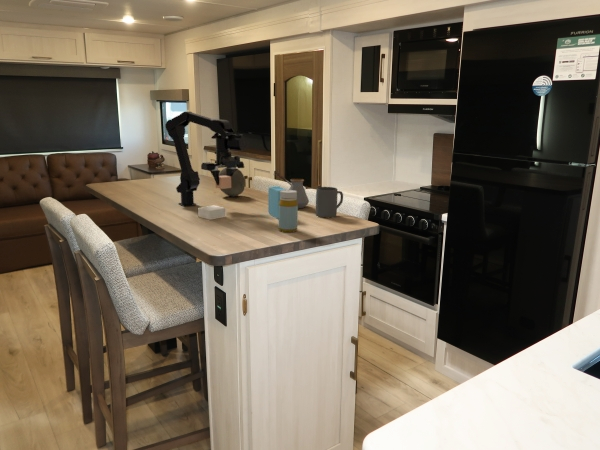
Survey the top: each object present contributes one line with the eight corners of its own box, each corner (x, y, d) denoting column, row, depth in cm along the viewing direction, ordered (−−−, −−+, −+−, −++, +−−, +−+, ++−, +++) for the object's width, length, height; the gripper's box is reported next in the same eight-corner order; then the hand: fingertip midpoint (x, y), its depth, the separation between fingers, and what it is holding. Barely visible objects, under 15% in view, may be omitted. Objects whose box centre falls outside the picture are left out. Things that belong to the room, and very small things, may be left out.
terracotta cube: (215, 187, 211) (215, 176, 209) (225, 186, 214) (225, 175, 212) (221, 188, 207) (221, 177, 206) (231, 187, 210) (231, 176, 209)
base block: (198, 217, 198) (198, 207, 197) (213, 214, 203) (213, 205, 202) (209, 220, 192) (209, 210, 191) (225, 217, 198) (225, 208, 197)
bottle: (278, 228, 181) (278, 189, 178) (296, 228, 182) (297, 189, 178) (279, 232, 174) (279, 192, 171) (297, 232, 175) (298, 192, 172)
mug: (324, 219, 198) (325, 190, 195) (311, 215, 205) (312, 187, 202) (348, 215, 205) (350, 188, 203) (335, 211, 213) (336, 185, 210)
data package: (288, 218, 197) (288, 190, 194) (278, 219, 195) (278, 190, 192) (277, 212, 208) (278, 185, 205) (268, 213, 206) (268, 186, 203)
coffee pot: (313, 207, 221) (314, 175, 218) (296, 210, 213) (297, 177, 210) (283, 200, 236) (283, 170, 232) (265, 203, 228) (265, 172, 224)
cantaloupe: (242, 193, 252) (241, 165, 248) (247, 198, 239) (247, 168, 235) (215, 194, 248) (214, 166, 244) (219, 199, 235) (219, 169, 231)
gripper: (212, 151, 194) (213, 189, 198) (250, 150, 206) (250, 185, 210) (200, 149, 203) (201, 185, 206) (237, 148, 214) (237, 182, 218)
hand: (223, 184), depth 210 cm, fingers closed on terracotta cube, 5 cm apart
